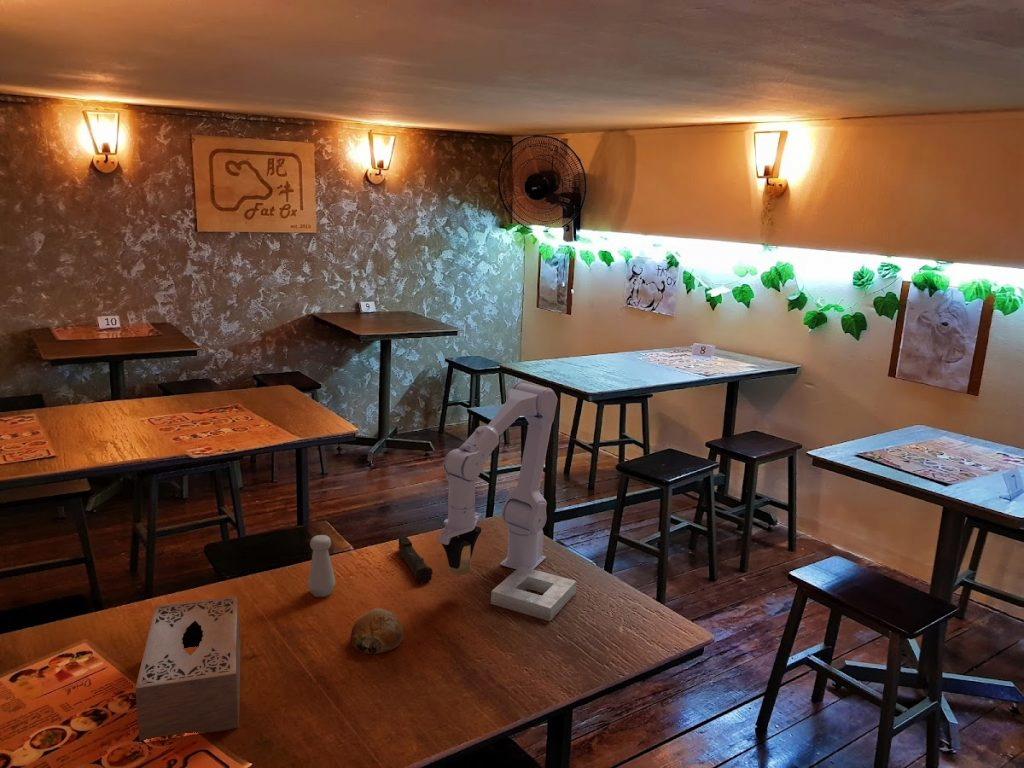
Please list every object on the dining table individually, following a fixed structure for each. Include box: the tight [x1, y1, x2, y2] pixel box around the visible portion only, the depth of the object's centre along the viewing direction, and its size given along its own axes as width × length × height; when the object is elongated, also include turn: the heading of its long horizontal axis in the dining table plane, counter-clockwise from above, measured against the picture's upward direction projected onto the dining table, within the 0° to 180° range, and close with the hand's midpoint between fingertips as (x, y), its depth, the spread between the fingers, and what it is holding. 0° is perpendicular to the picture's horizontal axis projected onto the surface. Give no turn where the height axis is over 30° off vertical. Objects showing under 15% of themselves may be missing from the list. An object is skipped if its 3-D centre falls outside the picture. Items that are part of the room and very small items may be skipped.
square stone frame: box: [490, 566, 577, 622], centre depth 166 cm, size 14×14×3 cm
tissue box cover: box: [134, 595, 242, 742], centre depth 130 cm, size 26×14×10 cm, turn 19°
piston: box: [449, 541, 471, 576], centre depth 165 cm, size 4×4×6 cm
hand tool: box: [398, 535, 433, 584], centre depth 179 cm, size 19×4×5 cm, turn 22°
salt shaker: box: [307, 534, 336, 598], centre depth 163 cm, size 6×6×13 cm
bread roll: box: [350, 607, 404, 655], centre depth 147 cm, size 10×10×8 cm
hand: (460, 562), depth 165 cm, fingers closed on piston, 4 cm apart
